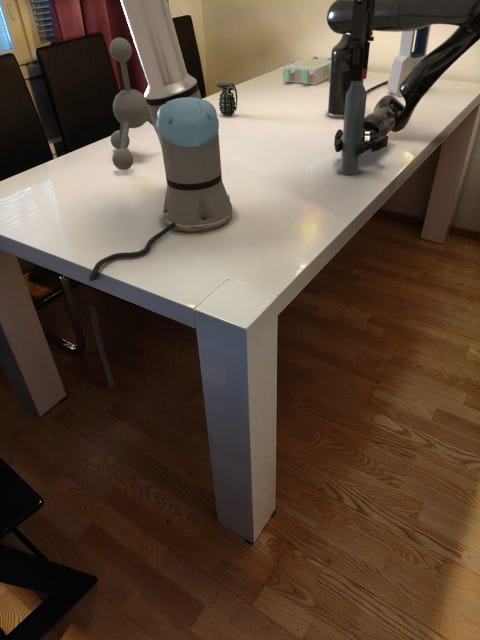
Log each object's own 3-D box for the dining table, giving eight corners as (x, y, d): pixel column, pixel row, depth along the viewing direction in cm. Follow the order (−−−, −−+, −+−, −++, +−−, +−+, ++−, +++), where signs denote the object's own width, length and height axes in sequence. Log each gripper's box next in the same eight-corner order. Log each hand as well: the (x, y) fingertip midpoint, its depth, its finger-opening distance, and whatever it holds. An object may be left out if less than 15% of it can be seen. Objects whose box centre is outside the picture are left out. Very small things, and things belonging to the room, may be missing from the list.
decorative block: (305, 54, 216) (346, 57, 206) (304, 70, 220) (345, 74, 210) (274, 66, 200) (317, 69, 190) (274, 83, 204) (316, 87, 194)
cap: (361, 80, 109) (362, 72, 108) (346, 78, 111) (346, 71, 110) (369, 77, 111) (370, 69, 110) (354, 75, 113) (355, 67, 112)
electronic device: (396, 96, 178) (409, -2, 159) (385, 92, 183) (397, -3, 165) (426, 92, 180) (443, -5, 162) (415, 88, 186) (430, -6, 167)
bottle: (362, 171, 124) (373, 73, 110) (349, 176, 122) (358, 76, 108) (349, 166, 127) (357, 70, 113) (336, 171, 125) (343, 73, 111)
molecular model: (196, 161, 135) (182, 37, 116) (116, 176, 129) (90, 48, 110) (173, 138, 152) (159, 27, 134) (102, 149, 146) (77, 35, 128)
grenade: (217, 117, 168) (214, 86, 162) (221, 112, 172) (219, 82, 166) (235, 117, 166) (233, 86, 160) (239, 113, 171) (238, 82, 165)
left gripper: (381, -50, 88) (367, 87, 103) (395, -53, 102) (381, 68, 116) (340, -48, 91) (332, 86, 105) (359, -51, 105) (350, 67, 119)
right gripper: (347, 112, 131) (321, 130, 119) (400, 118, 124) (377, 137, 113) (345, 140, 135) (319, 160, 124) (396, 147, 129) (374, 169, 118)
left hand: (357, 77), depth 111 cm, fingers open, 6 cm apart
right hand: (347, 149), depth 119 cm, fingers closed on bottle, 4 cm apart
